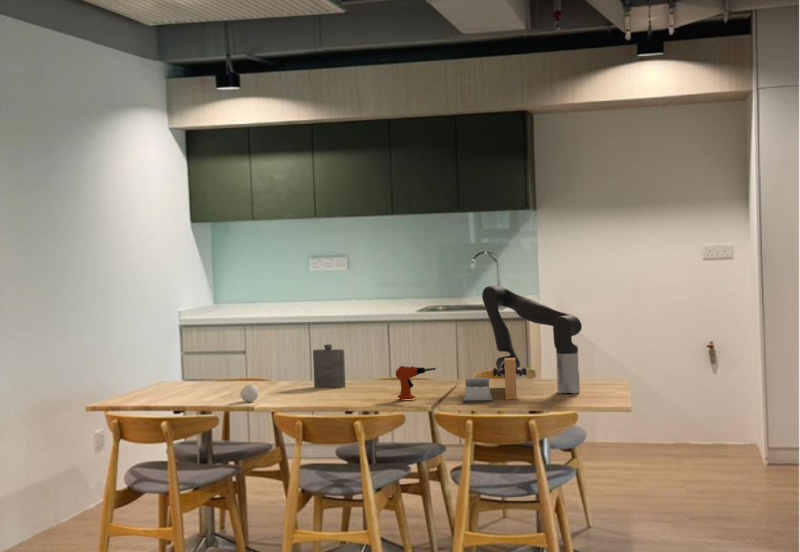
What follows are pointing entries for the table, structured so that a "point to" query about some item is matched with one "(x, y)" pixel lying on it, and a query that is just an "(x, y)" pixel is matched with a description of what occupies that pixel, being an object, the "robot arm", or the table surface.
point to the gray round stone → (249, 393)
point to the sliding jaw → (477, 382)
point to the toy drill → (406, 383)
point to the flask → (329, 367)
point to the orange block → (510, 378)
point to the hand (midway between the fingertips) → (510, 374)
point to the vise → (477, 394)
